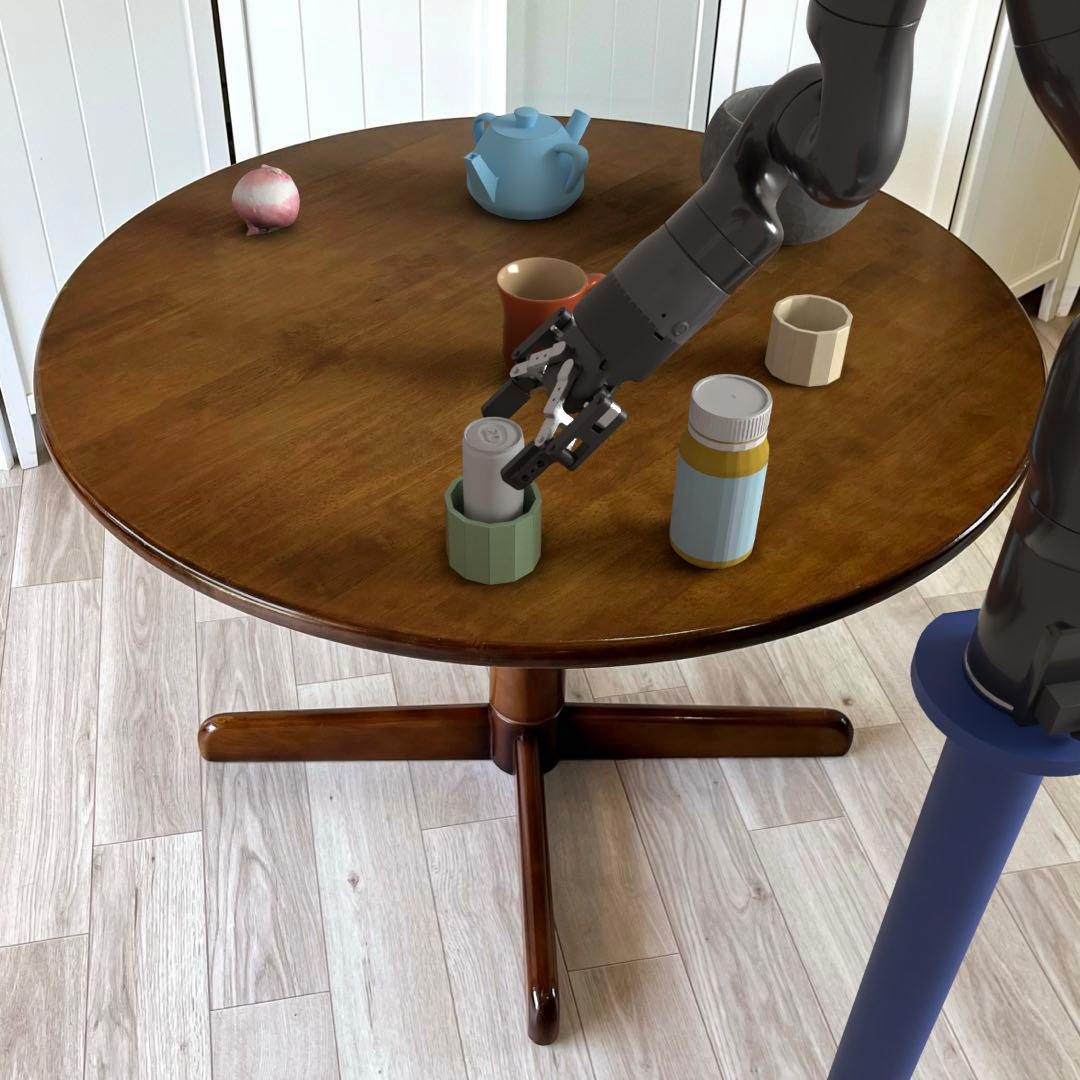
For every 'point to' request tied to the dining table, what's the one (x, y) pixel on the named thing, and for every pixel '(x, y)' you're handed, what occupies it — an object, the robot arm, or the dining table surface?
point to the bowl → (794, 204)
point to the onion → (266, 199)
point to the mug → (537, 296)
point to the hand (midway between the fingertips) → (498, 449)
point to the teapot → (527, 163)
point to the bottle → (721, 471)
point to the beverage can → (490, 470)
